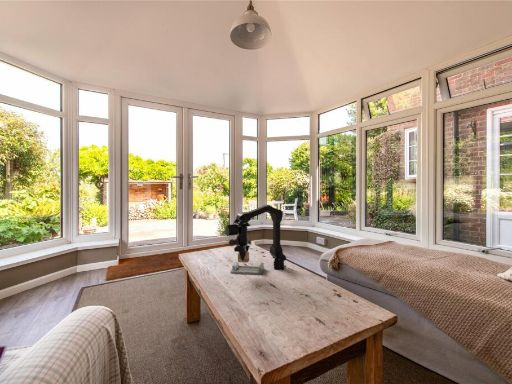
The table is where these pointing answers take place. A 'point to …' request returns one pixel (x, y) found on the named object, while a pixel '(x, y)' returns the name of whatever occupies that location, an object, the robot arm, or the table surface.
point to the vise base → (249, 269)
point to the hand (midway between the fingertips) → (243, 259)
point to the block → (244, 258)
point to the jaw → (235, 266)
